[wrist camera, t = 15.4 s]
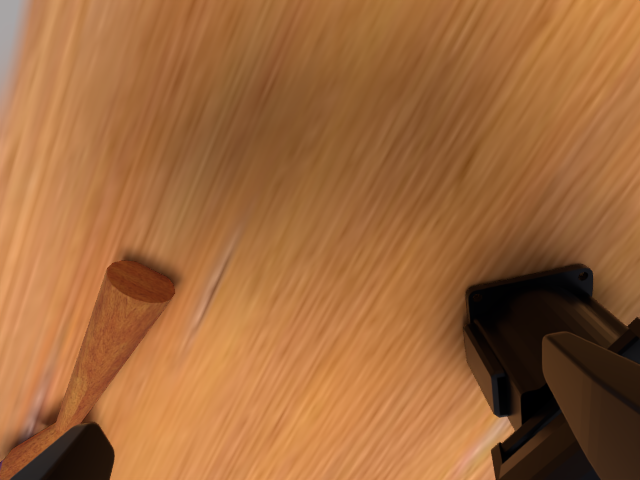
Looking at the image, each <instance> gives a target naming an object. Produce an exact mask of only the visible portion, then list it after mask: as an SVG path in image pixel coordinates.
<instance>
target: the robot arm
mask: <svg viewBox="0 0 640 480" xmlns="http://www.w3.org/2000/svg"><path fill="white" fill-rule="evenodd" d="M583 272H584V273H583ZM581 273H583V275H582V276H580V277H579V275H580V274H581ZM592 290H593V271H592V270H591V269H590V268H588V267H587V266H586V265H583V264H581V265H574V266H570V267H565V268H560V269H555V270H550V271H545V272H541V273H536V274H531V275H526V276H521V277H516V278H512V279H507V280H502V281H497V282H492V283H487V284H483V285H478V286H473V287H471V288H469V289H468V290H467V292H466V306H467V315H468V324H466V325H465V326H464V328H463V332H464V341H465V349H466V358H467V363H468V365H469V367H470V369H471V371H472V373H473V375H474V377H475V379H476V381H477V382H478V384H479V386H480V388H481V390H482V392H483V394H484V396H485V398H486V400H487V402H488V404H489V406H490V408H491V410H492V412H493V414H495V415H496V416H498V417H499V418H500V417H506V416H507V417H508V419H509V421H510V423H511V424H512V426H513V428H514V430H515V432H514V433H513V434H512V435H511V436H509V437H508V438H507V439H506V440H505V441H504V442H503V443H500V442H499V443H498V444H497V445H496V446H495V447H494V448H492V449H491V454H492V460H493V466H494V472H495V478H496V480H640V318H638V317H637V318H636V319H635V320H634V321H632V322H631V323H630V324H629V325H628V326H626V325H624V324H623V323H622V322H621V321H620V320H619V319H617V318H616V317H615V316H614V315H613V314H612V313H610V312H609V311H608V310H607V309H606V308H605V307H603V306H602V305H601V304H600V303H599V302H597V301H596V300H595V299H594V298H593V297H592ZM476 294H479V296H478V297H477V298H473V296H474V295H476ZM114 457H115V455H114V449H113V447H112V445H111V444H110V442H109V440H108V439H107V437H106V435H105V434H104V432H103V430H102V429H101V427H100V426H99V424H97V423H95V422H89V423H83V424H78V425H75V426H73V427H72V428H70V429H69V430H68V431H67V432H65V433H64V434H63V435H62V436H61V437H59V438H58V439H57V440H56V441H55V442H53V443H52V444H51V445H50V446H49V447H47V448H46V449H45V450H44V451H43V452H41V453H40V454H39V455H38V456H37V457H35V458H34V459H33V460H32V461H31V462H29V463H28V464H27V465H26V466H25V467H23V468H22V469H21V470H20V471H19V472H17V473H16V474H15V475H14V476H13V477H11V478H10V479H9V480H110V476H111V472H112V468H113V464H114Z"/></svg>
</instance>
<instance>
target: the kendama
mask: <svg viewBox="0 0 640 480" xmlns="http://www.w3.org/2000/svg"><path fill="white" fill-rule="evenodd" d="M174 294H175V290H174V285H173V284H172V283H171V281H170V280H169V278H168V277H166V276H164V275H162V274H160V273H158V272H156V271H154V270H152V269H150V268H148V267H146V266H144V265H142V264H139V263H137V262H135V261H119V262H115V263H112V264H111V265H110V266H109V267H108V268H107V270H106V273H105V276H104V279H103V282H102V285H101V288H100V291H99V294H98V297H97V300H96V303H95V306H94V309H93V312H92V316H91V319H90V322H89V325H88V328H87V331H86V334H85V337H84V340H83V343H82V346H81V349H80V352H79V355H78V358H77V361H76V364H75V367H74V370H73V373H72V376H71V379H70V382H69V385H68V388H67V391H66V394H65V397H64V400H63V403H62V406H61V409H60V412H59V415H58V418H57V421H56V423H54V424H52V425H51V426H49V427H47V428H46V429H44V430H43V431H41V432H39V433H38V434H36V435H34V436H33V437H31V438H30V439H28V440H26V441H25V442H23V443H21V444H20V445H18V446H17V447H15V448H13V449H12V450H11V451H10V453H9V454H8V455H7V456H6V458H5V459H4V460H3V461H1V462H0V480H9V479H10V478H11V477H13V476H14V475H15V474H16V473H17V472H19V471H20V470H21V469H22V468H23V467H25V466H26V465H27V464H28V463H29V462H31V461H32V460H33V459H34V458H35V457H37V456H38V455H39V454H40V453H41V452H43V451H44V450H45V449H46V448H47V447H49V446H50V445H51V444H52V443H53V442H55V441H56V440H57V439H58V438H59V437H61V436H62V435H63V434H64V433H65V432H67V431H68V430H69V429H70V428H72V427H73V426H75V425H78V424H80V423H81V422H82V421H83V419H84V418H85V416H86V415H87V414H88V412H89V411H90V410H91V408H92V407H93V406H94V404H95V403H96V401H97V400H98V399H99V397H100V396H101V395H102V393H103V392H104V391H105V389H106V388H107V386H108V385H109V384H110V382H111V381H112V380H113V378H114V377H115V375H116V374H117V373H118V371H119V370H120V369H121V367H122V366H123V365H124V363H125V362H126V360H127V359H128V358H129V356H130V355H131V354H132V352H133V351H134V350H135V348H136V347H137V345H138V344H139V343H140V341H141V340H142V339H143V337H144V336H145V334H146V333H147V332H148V330H149V329H150V328H151V326H152V325H153V324H154V322H155V321H156V319H157V318H158V317H159V315H160V314H161V313H162V311H163V310H164V308H165V307H166V306H167V304H168V303H169V302H170V300H171V299H172V297H173V296H174Z"/></svg>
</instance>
